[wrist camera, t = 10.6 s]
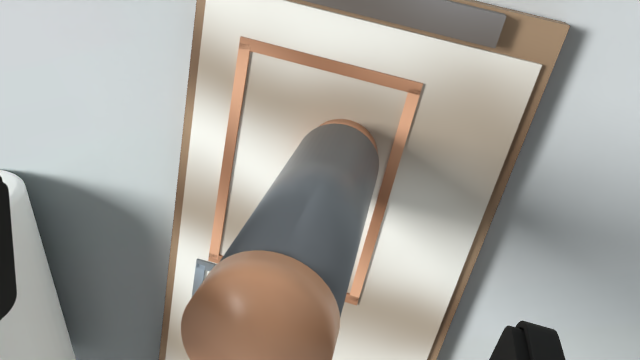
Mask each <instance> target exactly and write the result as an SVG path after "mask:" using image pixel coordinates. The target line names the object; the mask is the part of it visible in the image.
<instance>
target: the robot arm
mask: <svg viewBox="0 0 640 360" xmlns="http://www.w3.org/2000/svg"><path fill="white" fill-rule="evenodd" d="M16 297H17V287H16V275H15V262H14V250H13V237H12V225H11V212H10V199H9V190H8V186H7V185H6V184H5V183H3V181H2V178H1V176H0V320H1V319H2V318H3V317H4V316H5V315H7V314H8V312H9V311H10V310H11V309H12V307H13V305H14V303H15V301H16ZM489 360H565V357H564V353H563V350H562V346H561V343H560V339H559V336H558V334H557V332H556V331H555V330H554V329H550V328H547V327H543V326H540V325H536V324H533V323H529V322H525V321H520V322H519V323H518V324H517V325H516V327H512V326H507V327H506V328H505V329H504V331H503V332H502V335H501V337H500V339H499V341H498V343H497V345H496V347H495V349H494V351H493V353H492V355H491V357H490V359H489Z"/></svg>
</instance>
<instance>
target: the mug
mask: <svg viewBox="0 0 640 360" xmlns="http://www.w3.org/2000/svg"><path fill="white" fill-rule="evenodd" d="M0 176H1V178H2V181H3V183H5V184H6V185H7V186H8V190H9V199H10V212H11V225H12V237H13V250H14V262H15V275H16V287H17V297H16V301H15V303H14V305H13V307H12V309H11V310H10V311H9V312H8V314H7V315H5V316H4V317H3V318H2V319H1V320H0V360H76V358H75V354H74V351H73V348H72V344H71V341H70V337H69V334H68V330H67V327H66V323H65V320H64V317H63V313H62V310H61V306H60V303H59V299H58V296H57V293H56V289H55V286H54V282H53V279H52V275H51V272H50V269H49V265H48V262H47V258H46V255H45V251H44V248H43V244H42V241H41V238H40V234H39V231H38V227H37V224H36V220H35V217H34V214H33V210H32V207H31V203H30V200H29V196H28V193H27V190H26V186H25V183H24V182H23V180H22V179H21V178H20V177H18V176H17V175H15V174H13V173H11V172H8V171H4V170H0Z"/></svg>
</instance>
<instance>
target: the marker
mask: <svg viewBox="0 0 640 360" xmlns="http://www.w3.org/2000/svg"><path fill="white" fill-rule="evenodd" d="M378 172H379V158H378V151H377V146H376V143H375V140H374V138H373V137H372V135H371V134H370V133H369V132H368V130H367V129H365V128H364V127H363V126H362V125H360V124H358V123H356V122H354V121H351V120H347V119H334V120H330V121H327V122H325V123H323V124H321V125H319V126H318V127H317V128H315V129H313V130H312V131H310V132H309V133H308V134H307V135H306V136H305V137H304V138H303V140H302V141H301V143H300V144H299V146H298V147H297V149H296V150H295V151H294V153H293V154H292V156H291V157H290V159H289V160H288V162H287V163H286V165H285V166H284V168H283V169H282V171H281V172H280V173H279V175H278V176H277V178H276V179H275V181H274V182H273V184H272V185H271V187H270V188H269V190H268V191H267V193H266V194H265V196H264V197H263V198H262V200H261V201H260V203H259V204H258V206H257V207H256V209H255V210H254V212H253V213H252V215H251V216H250V218H249V219H248V220H247V222H246V223H245V225H244V226H243V228H242V229H241V231H240V232H239V234H238V235H237V237H236V238H235V240H234V241H233V242H232V244H231V245H230V247H229V248H228V250H227V251H226V253H225V254H224V256H223V257H222V259H221V260H220V262H219V263H218V264H217V265H215V266H214V267H213V268H212V270H211V271H210V272H209V273H208V275H207V276H206V278H205V279H204V281H203V282H202V284H201V285H200V286H199V288H198V289H197V291H196V292H195V294H194V295H193V297H192V298H191V299H190V301H189V303H188V304H187V306H186V307H185V310H184V313H183V315H182V320H181V337H182V341H183V345H184V348H185V350H186V353H187V355H188V357H189V359H190V360H332V358H333V354H334V350H335V346H336V342H337V338H338V334H339V329H340V317H341V313H342V309H343V306H344V302H345V298H346V294H347V290H348V287H349V283H350V279H351V275H352V271H353V268H354V264H355V260H356V256H357V252H358V249H359V245H360V241H361V237H362V233H363V230H364V226H365V222H366V218H367V214H368V211H369V207H370V203H371V199H372V195H373V192H374V188H375V184H376V180H377V176H378Z"/></svg>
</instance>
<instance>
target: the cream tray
mask: <svg viewBox="0 0 640 360" xmlns="http://www.w3.org/2000/svg"><path fill="white" fill-rule="evenodd" d="M569 27H570V26H569V25H568V24H566V23H565V22H561V21H557V20H553V19H548V18H544V17H540V16H536V15H532V14H528V13H524V12H520V11H515V10H511V9H507V8H503V7H499V6H495V5H491V4H487V3H482V2H478V1H474V0H197V3H196V12H195V21H194V31H193V40H192V50H191V59H190V69H189V78H188V88H187V97H186V107H185V116H184V125H183V135H182V144H181V154H180V163H179V173H178V182H177V192H176V201H175V211H174V220H173V229H172V239H171V248H170V258H169V267H168V277H167V286H166V296H165V305H164V315H163V324H162V333H161V343H160V352H159V360H190V359H189V357H188V355H187V353H186V350H185V348H184V345H183V341H182V337H181V320H182V315H183V313H184V310H185V307H186V306H187V304H188V303H189V301H190V299H191V298H192V297H193V295H194V294H195V292H196V291H197V289H198V288H199V286H200V285H201V284H202V282H203V281H204V279H205V278H206V276H207V275H208V273H209V272H210V271H211V270H212V268H213V267H214V266H215V265H217V264H218V263H219V262H220V260H221V259H222V257H223V256H224V254H225V253H226V251H227V250H228V248H229V247H230V245H231V244H232V242H233V241H234V240H235V238H236V237H237V235H238V234H239V232H240V231H241V229H242V228H243V226H244V225H245V223H246V222H247V220H248V219H249V218H250V216H251V215H252V213H253V212H254V210H255V209H256V207H257V206H258V204H259V203H260V201H261V200H262V198H263V197H264V196H265V194H266V193H267V191H268V190H269V188H270V187H271V185H272V184H273V182H274V181H275V179H276V178H277V176H278V175H279V173H280V172H281V171H282V169H283V168H284V166H285V165H286V163H287V162H288V160H289V159H290V157H291V156H292V154H293V153H294V151H295V150H296V149H297V147H298V146H299V144H300V143H301V141H302V140H303V138H304V137H305V136H306V135H307V134H308V133H309V132H310V131H312V130H313V129H315V128H317V127H318V126H319V125H321V124H323V123H325V122H327V121H330V120H334V119H347V120H351V121H354V122H356V123H358V124H360V125H362V126H363V127H364V128H365V129H367V130H368V132H369V133H370V134H371V135H372V137H373V138H374V140H375V143H376V146H377V151H378V158H379V172H378V176H377V180H376V184H375V188H374V192H373V195H372V199H371V203H370V207H369V211H368V214H367V218H366V222H365V226H364V230H363V233H362V237H361V241H360V245H359V249H358V252H357V256H356V260H355V264H354V268H353V271H352V275H351V279H350V283H349V287H348V290H347V294H346V298H345V302H344V306H343V309H342V313H341V317H340V329H339V334H338V338H337V342H336V346H335V350H334V354H333V358H332V360H436V359H437V356H438V354H439V351H440V349H441V346H442V344H443V341H444V339H445V336H446V334H447V331H448V329H449V326H450V324H451V321H452V319H453V316H454V314H455V311H456V309H457V306H458V304H459V302H460V299H461V297H462V294H463V292H464V289H465V287H466V284H467V282H468V279H469V277H470V274H471V272H472V269H473V267H474V264H475V262H476V259H477V257H478V254H479V252H480V249H481V247H482V244H483V242H484V239H485V237H486V234H487V232H488V229H489V227H490V224H491V222H492V219H493V217H494V214H495V212H496V209H497V207H498V204H499V202H500V199H501V197H502V194H503V192H504V189H505V187H506V184H507V182H508V179H509V177H510V174H511V172H512V169H513V167H514V164H515V162H516V159H517V157H518V154H519V152H520V149H521V147H522V145H523V142H524V140H525V137H526V135H527V132H528V130H529V127H530V125H531V122H532V120H533V117H534V115H535V112H536V110H537V107H538V105H539V102H540V100H541V97H542V95H543V92H544V90H545V87H546V85H547V82H548V80H549V77H550V75H551V72H552V70H553V67H554V65H555V62H556V60H557V57H558V55H559V52H560V50H561V47H562V45H563V42H564V40H565V37H566V35H567V32H568V30H569Z"/></svg>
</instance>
